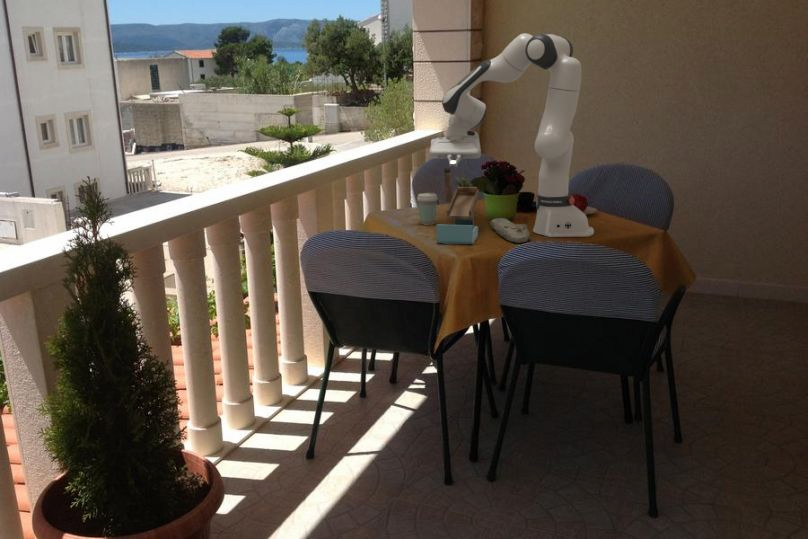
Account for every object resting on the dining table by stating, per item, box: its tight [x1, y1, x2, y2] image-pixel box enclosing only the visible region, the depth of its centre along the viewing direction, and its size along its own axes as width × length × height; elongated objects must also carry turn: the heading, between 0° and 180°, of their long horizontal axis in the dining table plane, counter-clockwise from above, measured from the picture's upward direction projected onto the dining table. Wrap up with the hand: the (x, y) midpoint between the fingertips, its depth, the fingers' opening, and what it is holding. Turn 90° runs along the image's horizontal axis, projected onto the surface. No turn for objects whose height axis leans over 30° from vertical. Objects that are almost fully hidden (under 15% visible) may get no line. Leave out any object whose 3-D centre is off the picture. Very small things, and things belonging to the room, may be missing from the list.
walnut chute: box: [443, 166, 480, 219], centre depth 275 cm, size 12×20×18 cm, turn 166°
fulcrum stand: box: [454, 213, 475, 226], centre depth 280 cm, size 10×6×9 cm, turn 76°
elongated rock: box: [489, 217, 531, 244], centre depth 276 cm, size 35×5×10 cm
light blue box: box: [435, 223, 479, 245], centre depth 267 cm, size 13×13×7 cm
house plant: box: [452, 176, 474, 194], centre depth 316 cm, size 14×14×16 cm
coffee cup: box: [416, 192, 439, 225], centre depth 295 cm, size 8×8×12 cm
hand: (453, 165), depth 285 cm, fingers closed
